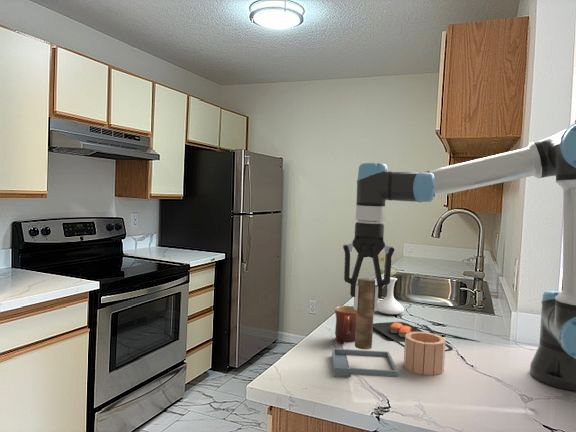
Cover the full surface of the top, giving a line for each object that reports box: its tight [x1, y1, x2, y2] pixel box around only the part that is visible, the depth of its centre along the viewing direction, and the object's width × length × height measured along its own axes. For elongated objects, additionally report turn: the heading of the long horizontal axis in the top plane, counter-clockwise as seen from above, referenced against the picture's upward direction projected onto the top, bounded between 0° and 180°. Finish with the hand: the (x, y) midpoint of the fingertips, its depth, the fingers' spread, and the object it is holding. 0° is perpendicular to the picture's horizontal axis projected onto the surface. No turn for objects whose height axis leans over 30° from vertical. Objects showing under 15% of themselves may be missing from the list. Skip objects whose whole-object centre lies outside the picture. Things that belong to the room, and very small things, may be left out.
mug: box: [333, 305, 357, 345], centre depth 137 cm, size 12×9×10 cm
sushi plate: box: [373, 321, 481, 352], centre depth 146 cm, size 29×30×4 cm
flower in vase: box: [376, 249, 405, 315], centre depth 175 cm, size 13×11×25 cm
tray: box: [331, 348, 399, 378], centre depth 119 cm, size 16×14×2 cm
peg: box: [354, 277, 376, 350], centre depth 118 cm, size 4×4×18 cm
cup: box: [403, 331, 447, 376], centre depth 117 cm, size 10×10×9 cm
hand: (365, 309), depth 118 cm, fingers closed on peg, 4 cm apart
